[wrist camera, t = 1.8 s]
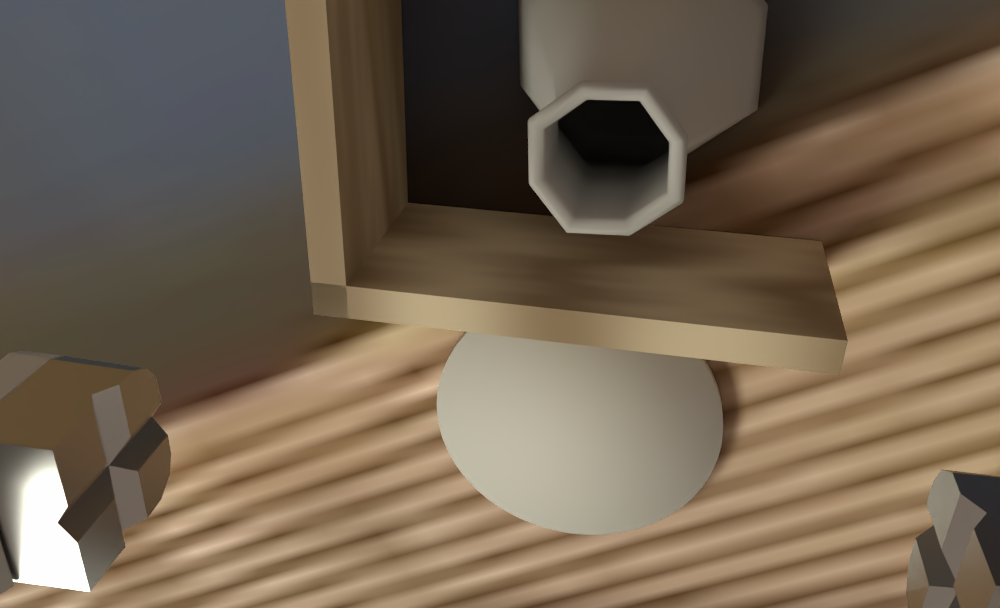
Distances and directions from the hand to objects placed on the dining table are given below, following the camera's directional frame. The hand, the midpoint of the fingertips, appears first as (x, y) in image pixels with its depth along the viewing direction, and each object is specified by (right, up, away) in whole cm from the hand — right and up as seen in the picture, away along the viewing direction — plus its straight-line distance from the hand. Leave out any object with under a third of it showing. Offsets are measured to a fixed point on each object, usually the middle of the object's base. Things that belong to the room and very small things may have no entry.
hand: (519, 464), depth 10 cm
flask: (+4, +9, +17) cm, 20 cm away
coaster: (+3, -2, +23) cm, 23 cm away
